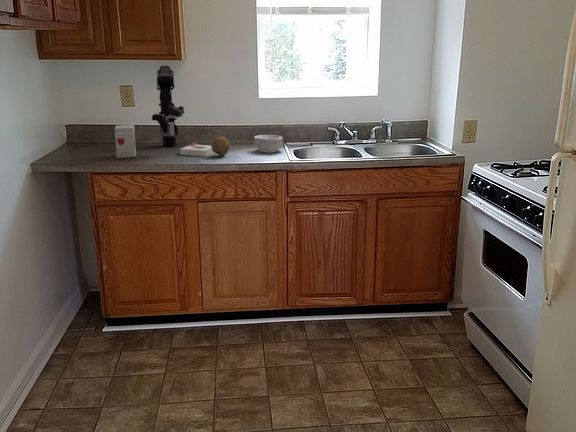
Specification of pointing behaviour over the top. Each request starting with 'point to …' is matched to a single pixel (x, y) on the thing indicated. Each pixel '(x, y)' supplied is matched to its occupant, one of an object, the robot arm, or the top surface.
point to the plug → (168, 129)
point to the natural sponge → (220, 146)
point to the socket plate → (196, 150)
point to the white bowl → (268, 143)
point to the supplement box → (125, 141)
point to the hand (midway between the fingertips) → (167, 132)
